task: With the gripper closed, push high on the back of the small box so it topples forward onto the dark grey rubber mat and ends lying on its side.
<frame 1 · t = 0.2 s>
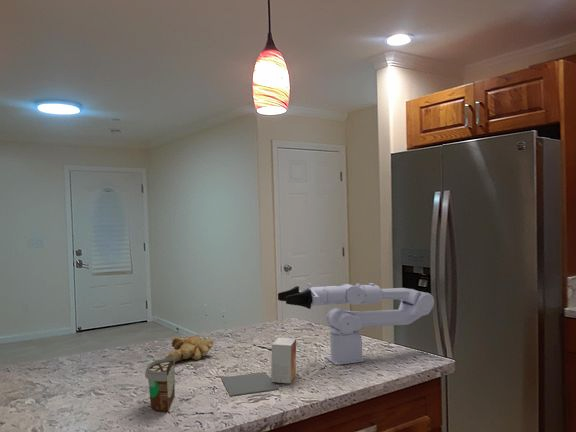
hand: (282, 298, 141), 21 cm above the counter, tool horizontal, fingers open, 7 cm apart
small box: (283, 379, 132), on the counter, touching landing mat
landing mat: (248, 383, 129), on the counter
ginger root: (189, 357, 155), on the counter
food container: (159, 406, 116), on the counter
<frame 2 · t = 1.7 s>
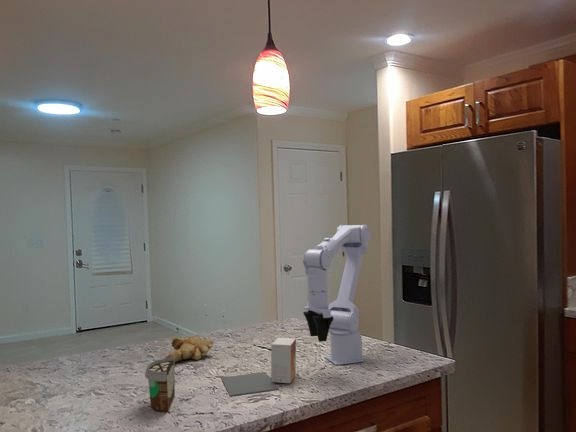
hand: (318, 338, 134), 10 cm above the counter, tool pointing down, fingers open, 6 cm apart
nothing on the counter moved.
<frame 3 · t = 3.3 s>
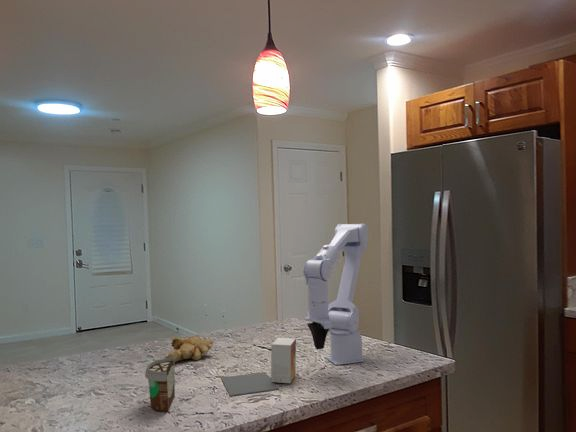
hand: (319, 348, 135), 7 cm above the counter, tool pointing down, fingers closed
nothing on the counter moved.
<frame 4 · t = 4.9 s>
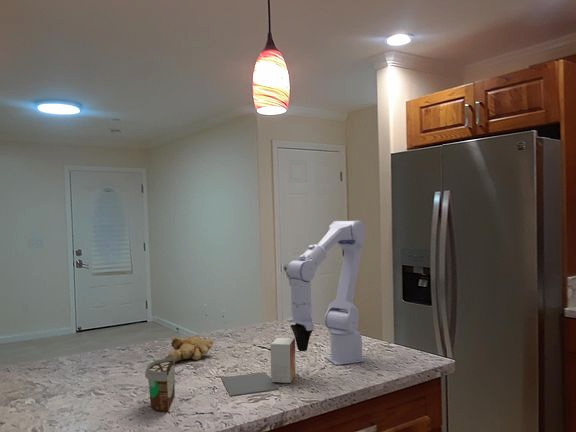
hand: (302, 350, 133), 7 cm above the counter, tool pointing down, fingers closed
small box: (283, 379, 132), on the counter, touching gripper, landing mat
everything else where it was.
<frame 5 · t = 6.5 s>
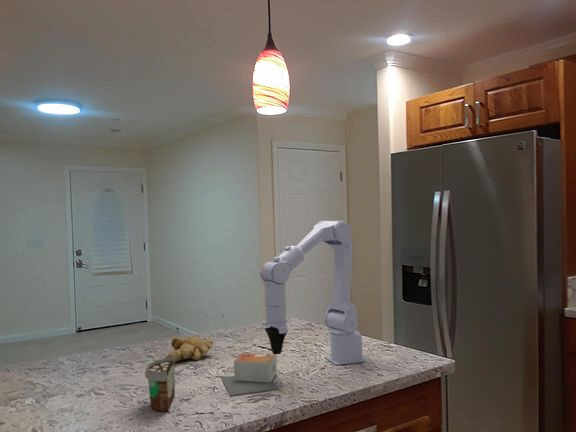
hand: (276, 353, 131), 7 cm above the counter, tool pointing down, fingers closed
small box: (274, 368, 132), point 3 cm above the counter, touching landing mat
everything else where it was.
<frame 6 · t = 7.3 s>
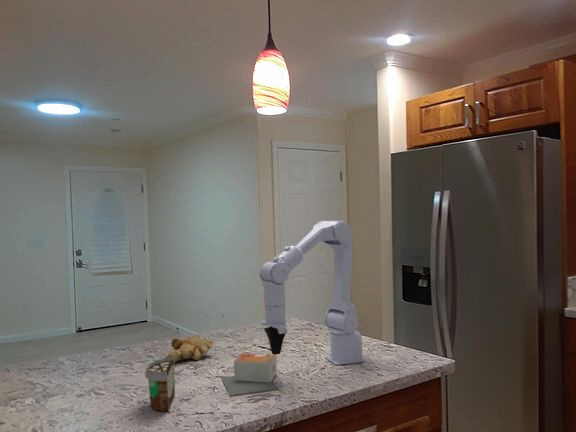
hand: (276, 353, 131), 7 cm above the counter, tool pointing down, fingers closed
nothing on the counter moved.
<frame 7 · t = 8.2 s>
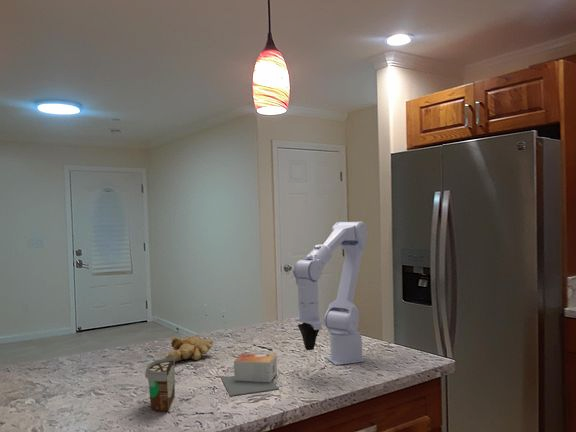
hand: (309, 349, 134), 7 cm above the counter, tool pointing down, fingers closed
nothing on the counter moved.
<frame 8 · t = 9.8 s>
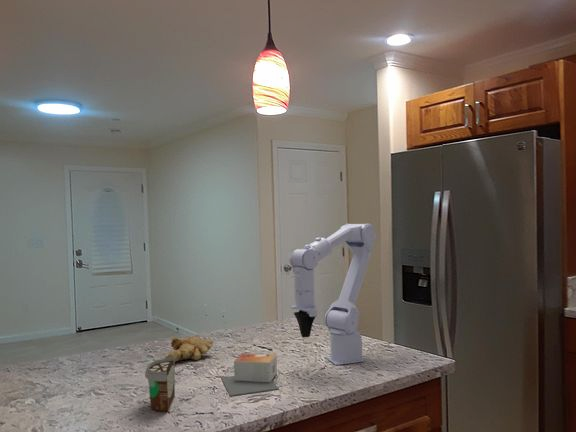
hand: (305, 336, 137), 10 cm above the counter, tool pointing down, fingers closed
nothing on the counter moved.
at the end: small box tilted 90°; small box inside the target area (2.2 cm from its centre), point 3.0 cm above the counter; small box touching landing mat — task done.
